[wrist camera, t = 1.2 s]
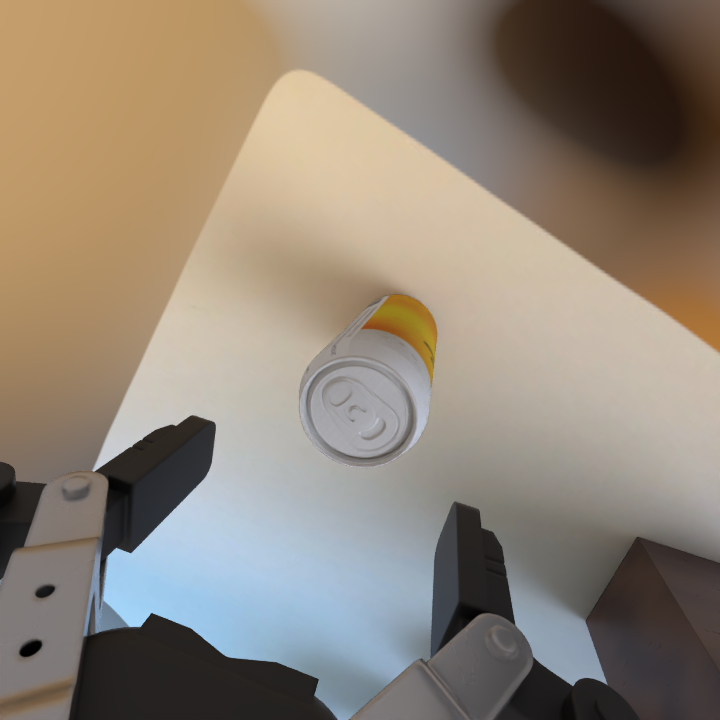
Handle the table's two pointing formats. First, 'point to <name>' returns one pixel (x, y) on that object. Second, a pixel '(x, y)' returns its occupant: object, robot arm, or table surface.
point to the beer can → (372, 384)
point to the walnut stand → (661, 633)
